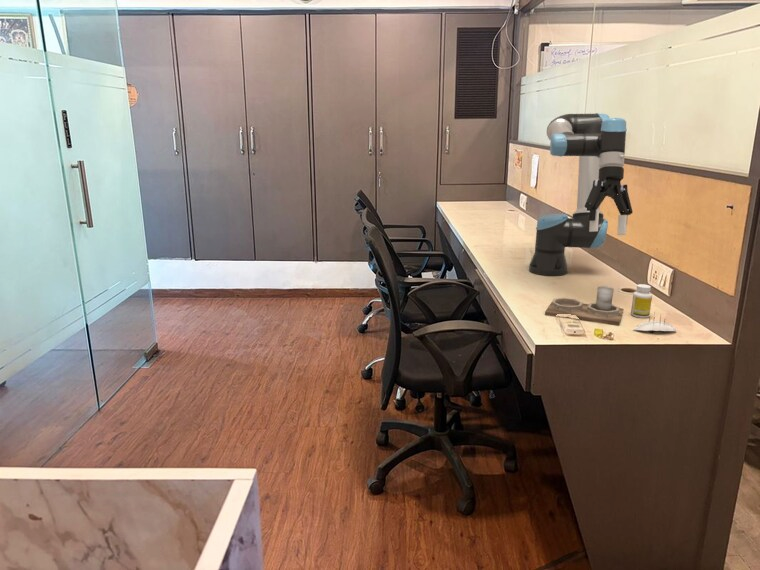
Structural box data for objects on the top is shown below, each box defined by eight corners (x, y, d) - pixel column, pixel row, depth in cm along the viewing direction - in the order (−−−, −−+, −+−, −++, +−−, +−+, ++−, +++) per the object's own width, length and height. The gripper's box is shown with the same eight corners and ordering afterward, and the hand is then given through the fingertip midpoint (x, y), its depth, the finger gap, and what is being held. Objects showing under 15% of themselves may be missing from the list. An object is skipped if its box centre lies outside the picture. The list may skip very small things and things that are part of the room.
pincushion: (637, 335, 162) (640, 316, 160) (629, 327, 168) (632, 309, 166) (680, 336, 161) (683, 317, 160) (671, 328, 167) (673, 310, 166)
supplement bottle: (652, 318, 175) (656, 288, 173) (636, 318, 175) (640, 288, 172) (643, 312, 181) (647, 283, 178) (627, 313, 180) (631, 283, 178)
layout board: (553, 302, 191) (555, 276, 188) (623, 312, 181) (626, 284, 178) (544, 314, 179) (547, 287, 176) (619, 325, 169) (622, 296, 166)
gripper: (594, 159, 172) (591, 229, 172) (646, 171, 184) (642, 235, 184) (575, 163, 178) (571, 230, 178) (626, 174, 190) (622, 236, 191)
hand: (607, 233), depth 181 cm, fingers open, 13 cm apart
